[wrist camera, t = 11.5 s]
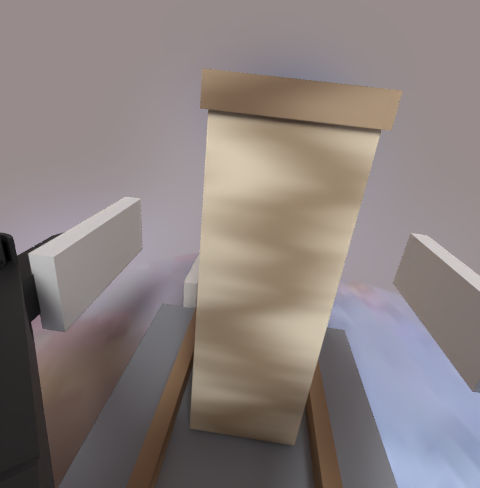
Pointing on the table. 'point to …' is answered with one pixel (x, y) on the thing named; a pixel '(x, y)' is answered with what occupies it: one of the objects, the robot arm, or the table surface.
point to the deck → (221, 445)
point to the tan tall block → (275, 240)
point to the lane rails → (169, 404)
